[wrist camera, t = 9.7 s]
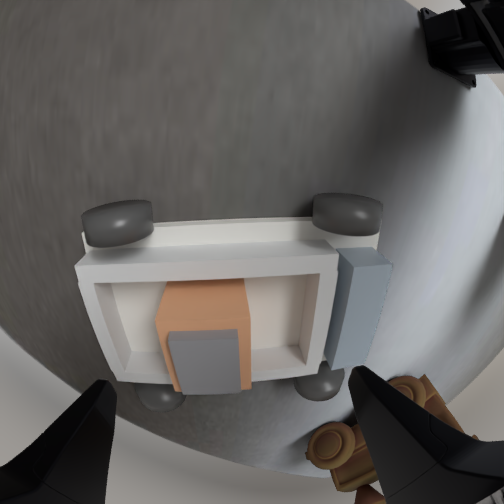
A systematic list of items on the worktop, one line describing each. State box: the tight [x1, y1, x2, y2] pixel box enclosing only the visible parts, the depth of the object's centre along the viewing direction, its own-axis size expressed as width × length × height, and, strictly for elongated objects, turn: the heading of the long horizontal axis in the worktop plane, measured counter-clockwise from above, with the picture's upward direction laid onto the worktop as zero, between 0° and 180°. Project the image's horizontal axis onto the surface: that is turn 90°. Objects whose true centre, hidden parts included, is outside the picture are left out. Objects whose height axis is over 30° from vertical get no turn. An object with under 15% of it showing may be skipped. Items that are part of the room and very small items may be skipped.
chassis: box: [75, 193, 393, 412], centre depth 18 cm, size 21×16×4 cm
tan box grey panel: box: [155, 278, 251, 395], centre depth 16 cm, size 5×6×6 cm
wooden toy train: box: [305, 374, 479, 504], centre depth 23 cm, size 20×11×17 cm, turn 134°
